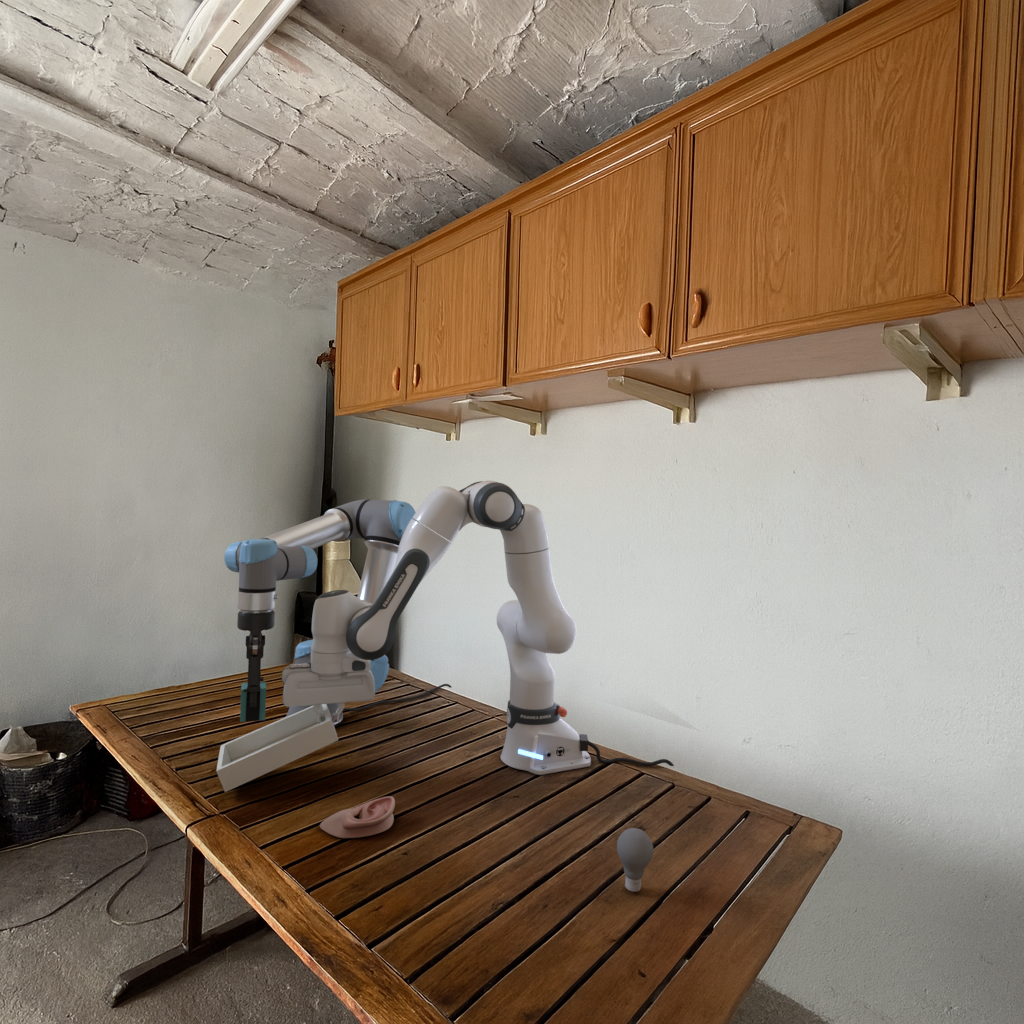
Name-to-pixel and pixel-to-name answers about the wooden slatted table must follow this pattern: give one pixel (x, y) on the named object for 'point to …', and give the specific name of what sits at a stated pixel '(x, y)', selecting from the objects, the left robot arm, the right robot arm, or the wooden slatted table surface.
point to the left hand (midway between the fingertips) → (252, 716)
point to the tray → (274, 746)
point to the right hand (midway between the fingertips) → (328, 721)
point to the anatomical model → (361, 819)
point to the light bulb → (634, 856)
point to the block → (262, 701)
